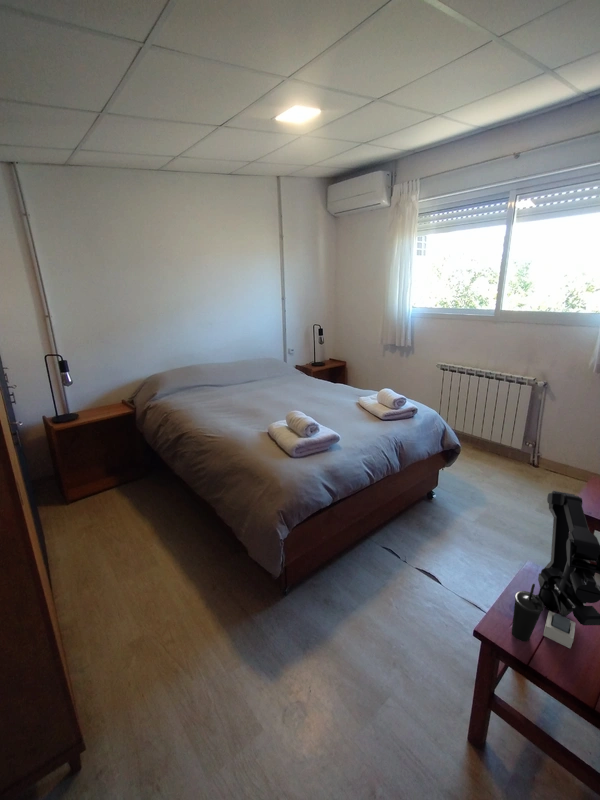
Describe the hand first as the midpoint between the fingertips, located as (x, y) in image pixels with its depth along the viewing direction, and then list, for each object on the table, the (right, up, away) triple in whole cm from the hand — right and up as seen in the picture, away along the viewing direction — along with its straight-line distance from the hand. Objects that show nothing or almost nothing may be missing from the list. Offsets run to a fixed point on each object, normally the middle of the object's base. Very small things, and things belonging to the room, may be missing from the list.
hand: (563, 615), depth 114 cm
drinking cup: (-12, -7, +2) cm, 14 cm away
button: (0, -5, +1) cm, 5 cm away
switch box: (0, -7, +2) cm, 7 cm away
